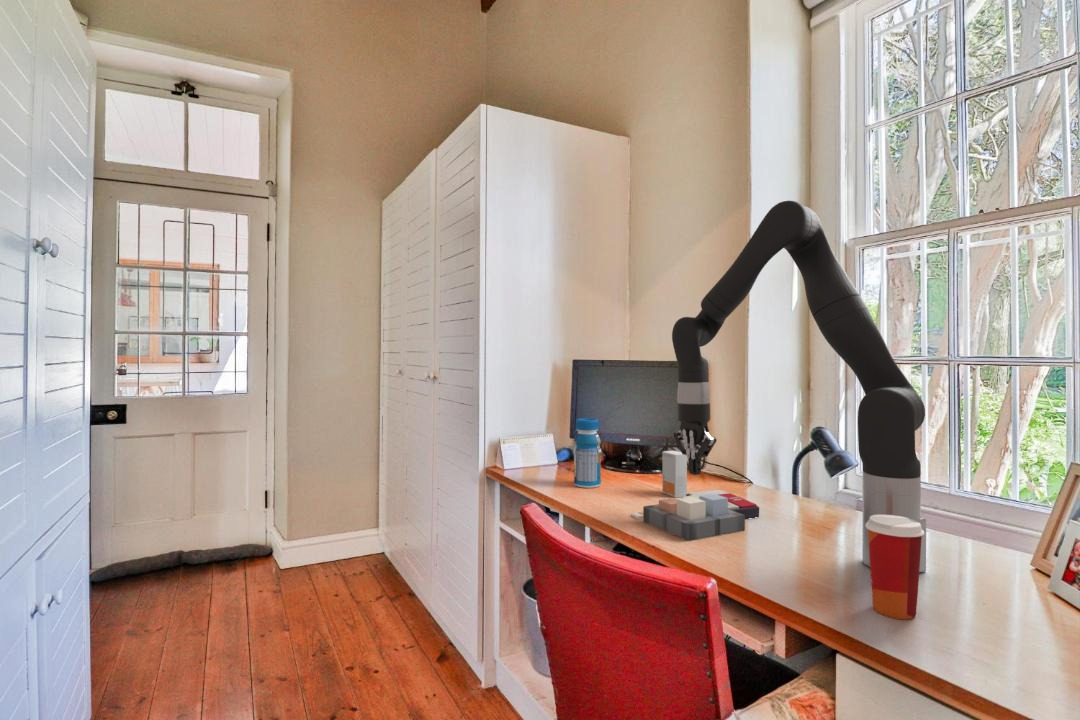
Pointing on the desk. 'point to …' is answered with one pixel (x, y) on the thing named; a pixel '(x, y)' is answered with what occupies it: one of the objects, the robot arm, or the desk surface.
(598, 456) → the beverage bottle
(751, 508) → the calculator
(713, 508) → the slate key
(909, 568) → the paper cup
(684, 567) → the desk surface
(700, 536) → the keypad base
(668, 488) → the skincare box
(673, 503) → the terracotta key
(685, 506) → the cream key
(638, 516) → the strip
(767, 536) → the desk surface
